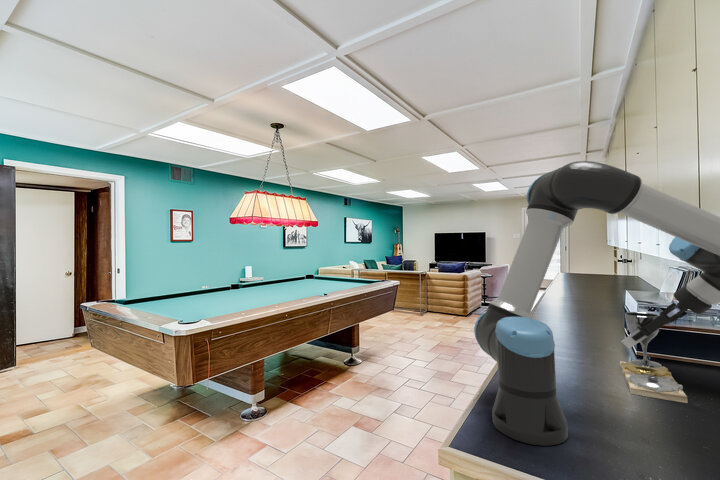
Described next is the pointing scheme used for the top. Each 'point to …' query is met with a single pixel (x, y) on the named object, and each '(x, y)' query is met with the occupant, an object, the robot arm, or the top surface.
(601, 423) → the top surface
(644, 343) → the wine glass
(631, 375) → the gear board
